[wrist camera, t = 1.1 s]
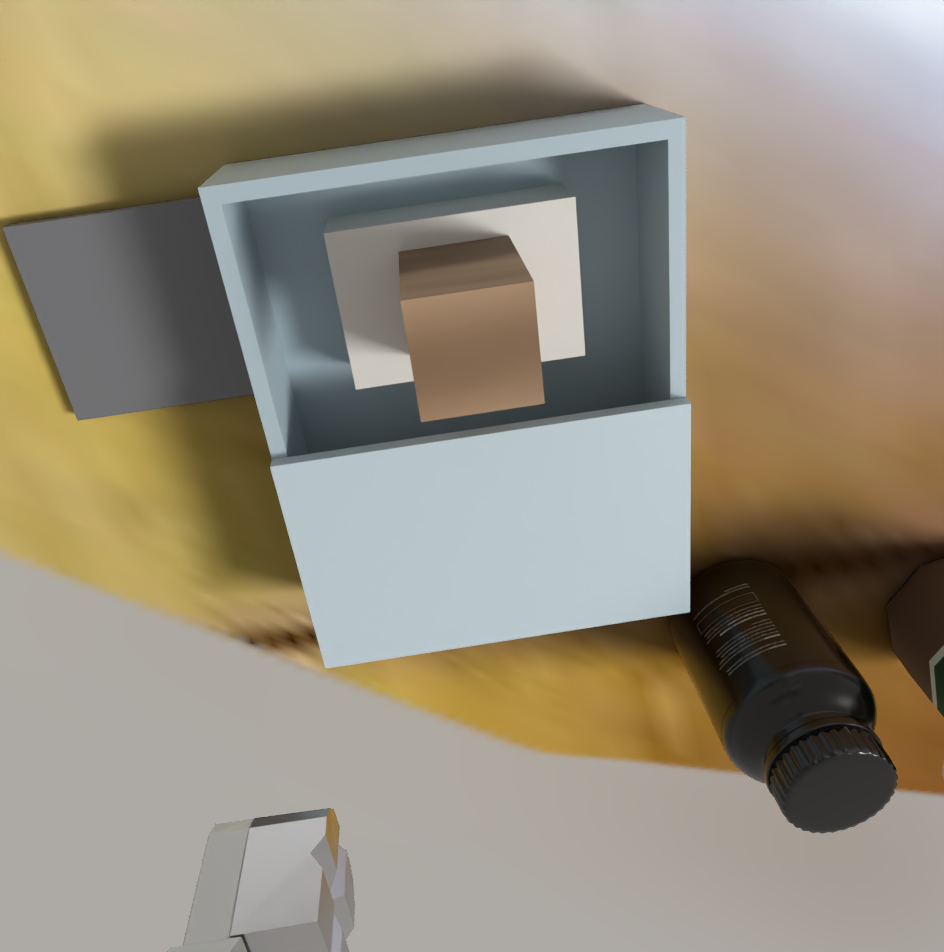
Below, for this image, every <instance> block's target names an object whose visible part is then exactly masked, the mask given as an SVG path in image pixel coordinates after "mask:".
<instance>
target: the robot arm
mask: <svg viewBox="0 0 944 952" xmlns="http://www.w3.org/2000/svg"><path fill="white" fill-rule="evenodd" d="M942 773H943V777H944V765H943V772H942ZM338 844H339V824H338V821H337V818H336V815H335V812H334V809H331V808H328V809H320V810H313V811H305V812H299V813H290V814H283V815H276V816H269V817H260V818H254V819H249V820H243V821H235V822H228V823H221V824H215V826H214V827H213V829H212V831H211V832H210V834H209V836H208V839H207V844H206V848H205V852H204V856H203V860H202V865H201V869H200V873H199V878H198V882H197V886H196V890H195V895H194V899H193V903H192V907H191V911H190V916H189V920H188V924H187V929H186V933H185V937H184V941H183V945H182V946H179V947H173V948H170V949H169V950H168V952H349V949H348V946H347V942H346V939H347V937H348V936H349V934H350V933H351V931H352V930H353V928H354V914H355V901H354V886H353V877H352V871H351V865H350V861H349V857H348V854H347V850H345V849H344V848H342V847H341V846H339V845H338Z"/></svg>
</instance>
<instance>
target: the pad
mask: <svg viewBox="0 0 944 952" xmlns="http://www.w3.org/2000/svg"><path fill="white" fill-rule="evenodd" d="M2 229H3V231H4V234H5V236H6V239H7V241H8V244H9V247H10V249H11V252H12V254H13V257H14V259H15V262H16V264H17V267H18V270H19V272H20V275H21V277H22V280H23V282H24V285H25V287H26V290H27V293H28V295H29V298H30V300H31V303H32V305H33V308H34V310H35V313H36V316H37V318H38V321H39V323H40V326H41V328H42V331H43V333H44V336H45V338H46V341H47V344H48V346H49V349H50V351H51V354H52V356H53V359H54V361H55V364H56V367H57V369H58V372H59V374H60V377H61V379H62V382H63V384H64V387H65V390H66V392H67V395H68V397H69V400H70V402H71V405H72V407H73V410H74V413H75V415H76V418H77V420H78V421H79V420H85V419H92V418H99V417H105V416H112V415H119V414H125V413H132V412H139V411H145V410H152V409H159V408H166V407H172V406H179V405H186V404H192V403H199V402H206V401H212V400H219V399H226V398H233V397H239V396H246V395H253V394H254V392H253V389H252V385H251V381H250V378H249V374H248V370H247V367H246V363H245V359H244V356H243V352H242V348H241V345H240V341H239V337H238V334H237V330H236V327H235V323H234V319H233V316H232V312H231V308H230V305H229V301H228V297H227V294H226V290H225V286H224V283H223V279H222V275H221V272H220V268H219V264H218V261H217V257H216V253H215V250H214V246H213V242H212V239H211V235H210V231H209V228H208V224H207V220H206V217H205V213H204V209H203V206H202V202H201V198H200V197H194V198H187V199H180V200H173V201H166V202H159V203H152V204H145V205H139V206H132V207H125V208H118V209H111V210H104V211H97V212H90V213H84V214H77V215H70V216H63V217H56V218H49V219H42V220H35V221H28V222H22V223H15V224H8V225H7V226H5V227H3V228H2Z"/></svg>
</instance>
